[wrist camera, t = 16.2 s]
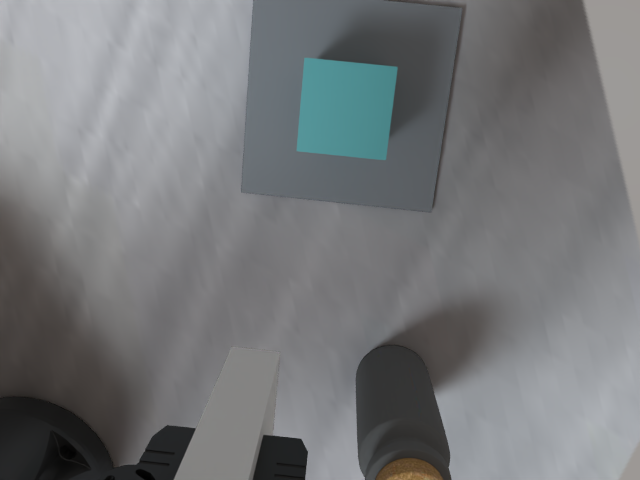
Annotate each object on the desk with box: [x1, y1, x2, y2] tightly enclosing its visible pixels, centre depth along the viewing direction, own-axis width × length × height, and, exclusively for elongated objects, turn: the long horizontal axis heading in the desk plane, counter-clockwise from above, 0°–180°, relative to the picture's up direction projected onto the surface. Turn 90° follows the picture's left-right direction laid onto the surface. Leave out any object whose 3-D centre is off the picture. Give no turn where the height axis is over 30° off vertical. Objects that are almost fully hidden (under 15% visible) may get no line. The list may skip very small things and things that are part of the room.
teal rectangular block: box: [297, 58, 398, 160], centre depth 37 cm, size 5×5×8 cm
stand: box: [241, 0, 463, 212], centre depth 38 cm, size 14×14×7 cm
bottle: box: [356, 345, 451, 480], centre depth 39 cm, size 6×6×15 cm
